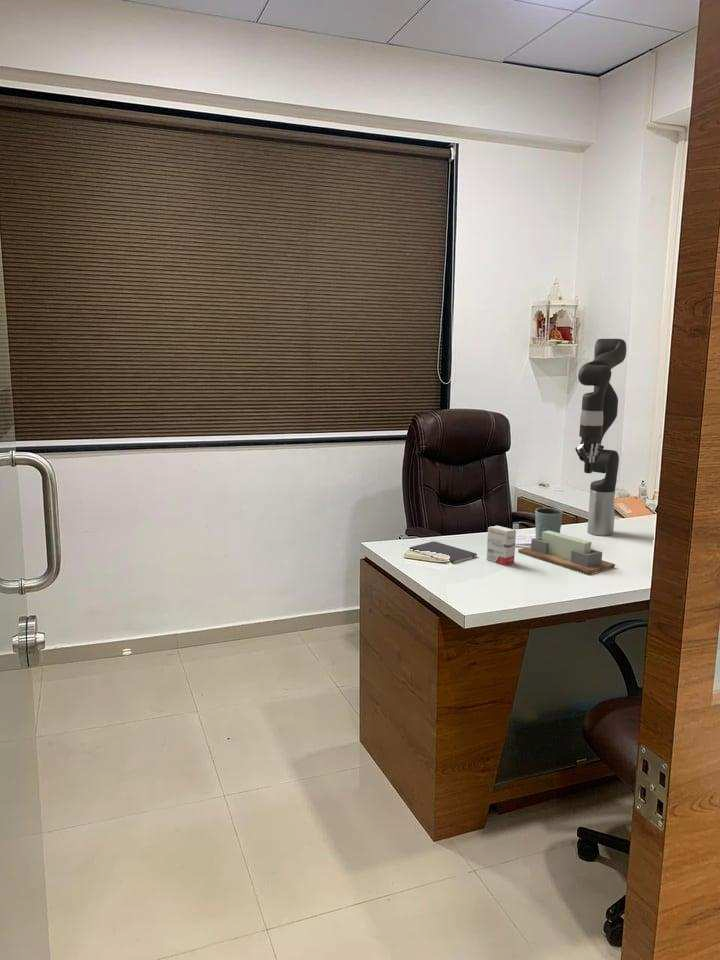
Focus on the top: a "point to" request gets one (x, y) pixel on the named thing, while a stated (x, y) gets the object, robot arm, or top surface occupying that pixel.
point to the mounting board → (566, 561)
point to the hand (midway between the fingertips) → (588, 472)
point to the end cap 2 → (586, 558)
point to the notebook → (446, 551)
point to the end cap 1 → (539, 545)
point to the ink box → (501, 545)
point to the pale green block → (565, 544)
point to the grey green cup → (548, 520)
